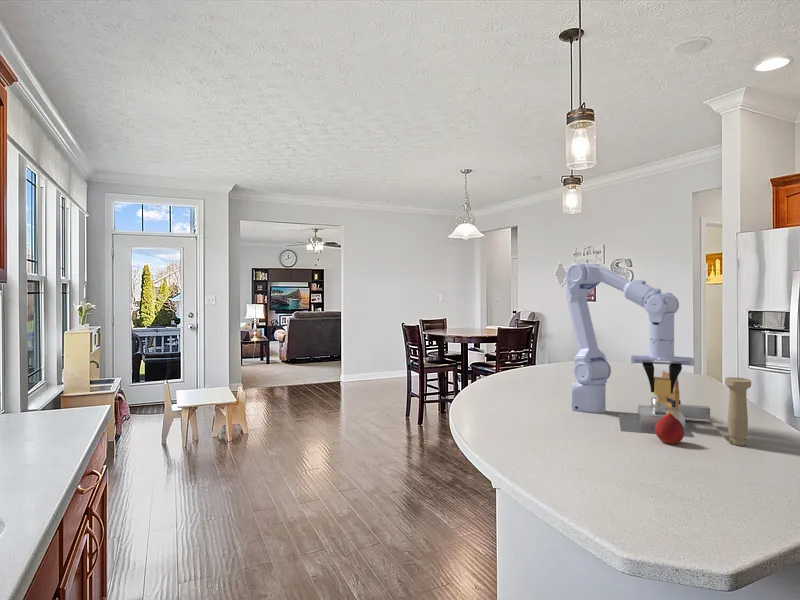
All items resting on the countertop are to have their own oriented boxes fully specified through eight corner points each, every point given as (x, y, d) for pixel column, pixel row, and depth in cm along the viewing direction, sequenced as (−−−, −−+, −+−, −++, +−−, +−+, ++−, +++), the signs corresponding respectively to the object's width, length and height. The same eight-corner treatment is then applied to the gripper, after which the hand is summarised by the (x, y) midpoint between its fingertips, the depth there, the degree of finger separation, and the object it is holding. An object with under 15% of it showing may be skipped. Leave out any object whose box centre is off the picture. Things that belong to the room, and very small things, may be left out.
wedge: (654, 403, 134) (655, 379, 134) (652, 399, 139) (653, 376, 139) (670, 404, 132) (670, 380, 132) (668, 400, 138) (668, 377, 138)
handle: (745, 441, 124) (745, 378, 124) (754, 449, 118) (754, 382, 118) (722, 439, 125) (722, 377, 125) (729, 447, 119) (729, 381, 119)
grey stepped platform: (620, 435, 130) (620, 408, 130) (618, 416, 149) (618, 394, 149) (723, 444, 122) (723, 416, 122) (706, 423, 141) (707, 399, 141)
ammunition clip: (680, 418, 147) (681, 376, 147) (674, 418, 147) (674, 376, 147) (665, 410, 158) (665, 370, 158) (659, 410, 158) (659, 370, 158)
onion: (681, 444, 121) (681, 410, 121) (686, 451, 116) (686, 415, 116) (653, 442, 123) (653, 408, 123) (657, 449, 118) (657, 413, 118)
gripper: (631, 340, 135) (631, 393, 135) (696, 341, 129) (696, 396, 129) (630, 338, 141) (630, 388, 141) (691, 339, 136) (691, 392, 136)
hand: (661, 392), depth 136 cm, fingers closed on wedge, 4 cm apart
